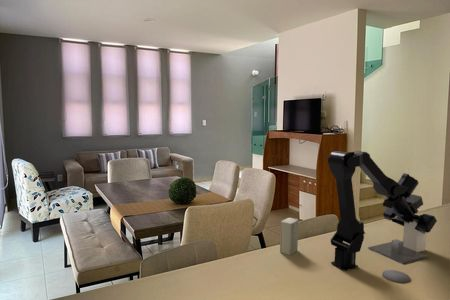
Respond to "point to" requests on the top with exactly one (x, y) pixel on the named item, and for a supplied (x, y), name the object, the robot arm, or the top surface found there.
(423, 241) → the pink-topped tall block
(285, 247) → the skincare box
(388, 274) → the slate coaster
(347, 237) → the robot arm
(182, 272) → the top surface
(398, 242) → the post plate
